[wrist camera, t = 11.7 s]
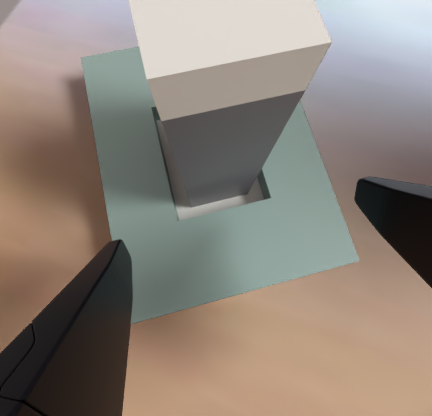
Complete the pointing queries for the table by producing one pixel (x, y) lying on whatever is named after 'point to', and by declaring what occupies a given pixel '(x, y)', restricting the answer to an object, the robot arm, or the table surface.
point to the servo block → (226, 82)
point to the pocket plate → (208, 213)
